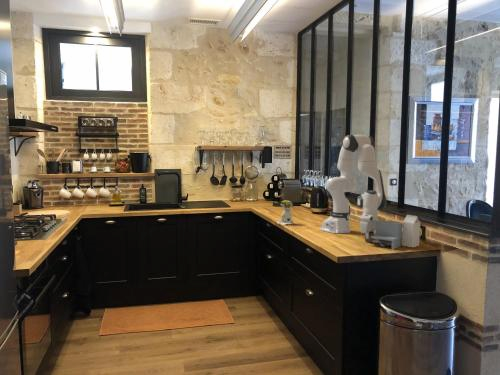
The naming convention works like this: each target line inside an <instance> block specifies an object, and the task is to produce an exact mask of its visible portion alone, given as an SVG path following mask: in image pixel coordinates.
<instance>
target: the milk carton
mask: <svg viewBox="0 0 500 375" xmlns="http://www.w3.org/2000/svg"><path fill="white" fill-rule="evenodd" d="M420 234H421V221H420V220H419V218H418V216H417V215H411V214H406V216H405V218H404V220H403V221H402V244H401V246H402V247H406V246H407V247H406V248H410V247H412V248H411V249H414V248H417V247H416V246H418V247H420ZM413 247H414V248H413Z"/></svg>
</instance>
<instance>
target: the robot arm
mask: <svg viewBox="0 0 500 375" xmlns="http://www.w3.org/2000/svg"><path fill="white" fill-rule="evenodd" d="M374 146H375V140H374V138H373V136H371V135H368V134H366V135H365V134H348V135H346V136H344V137H343V139H342V146H341V148H340V151H339V155H338V160H337V166H336V167H337V169H338V171H340V176H334V177H331V178H328V179H327V180H326V181H325V188H326V191H327V192H329V194H330V196H331V197H332V198H331V199H332V205H333V206H332V211H330V212H329V214H330V216H329V217H327V218H326V219H325V220H324V221H323V222H322V225H321V227H319V228H318V230H319V231H321V232H325V233H326V232H327V233H331V234H349V233H351V232H352V231H351V226H350V216H351V215H350V214H351V213H350V200H349V199H348V198H346V193H348V192H349V193H350V192H353V191H355V190H356V189H357V188H358V185H359V184H358V180H357V178H356V177H355V175H354V169H355V162H356V158H357V169H358V170H359V173H361V174H362V175H363V176H366V177H369V178H371V179H372V180H374V182H375V183H374V184H375V188H376V191H375V190H373V189H368V190H365V191H364V193H362V194H360V195H359V196H358V197H357V199H356V205H357V207H358V208H359V209H362V214H361V216H359V220H360V223H359V231H360V233H361V234H364V236H365V235H366V239H369V238H370V236H369V232H370V231H372V232H374V233H375V231H376V221H379V220H380V219H379V217H378V215H379V212H378V210H383V209H385V208H386V207H387V204H388V203H387V197H386V192H385V187H384V181H383V175H382V171H381V170H380V169H379V168H378V167H377V162H376V161H377V160H376V150H375V147H374ZM356 155H357V157H356Z"/></svg>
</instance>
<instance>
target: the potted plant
mask: <svg viewBox="0 0 500 375" xmlns="http://www.w3.org/2000/svg"><path fill="white" fill-rule="evenodd" d="M293 205H294V203H292V201H290V200H287V199H286V200H282V201H280V206H281V207H283V208H284V209H283V211H282V213H281V216H280V219H281V220H280V221H277V225H282V226H286V225H288V226H289V225H294V220H292V219H293V218H292V214H293V213H292V211H291V209H290V208H292V207H293Z"/></svg>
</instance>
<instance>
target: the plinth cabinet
mask: <svg viewBox="0 0 500 375" xmlns="http://www.w3.org/2000/svg"><path fill="white" fill-rule="evenodd" d="M378 220H379V221H376V229H375V230H374V235H372V236H371V238H374V239H376V240H381V241H386V242H392V246H391V250H392V249H394V250H396V249H398V248H400V247H401V246H402V233H403V222H398V221H389V220H382V219H378ZM397 247H398V248H397ZM395 248H396V249H395Z"/></svg>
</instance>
